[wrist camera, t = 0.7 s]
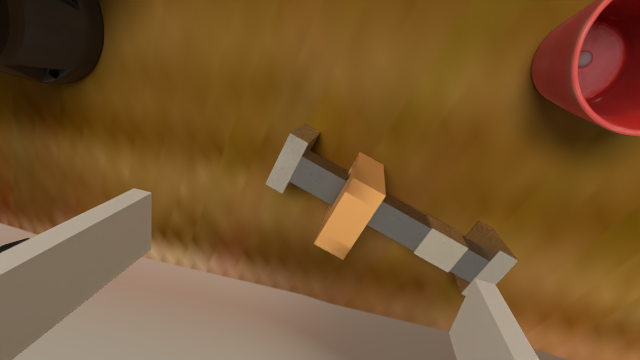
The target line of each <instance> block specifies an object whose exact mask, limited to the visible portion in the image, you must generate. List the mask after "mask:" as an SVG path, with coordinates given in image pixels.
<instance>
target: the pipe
mask: <svg viewBox="0 0 640 360" xmlns="http://www.w3.org/2000/svg"><path fill="white" fill-rule="evenodd" d="M319 134H320V132H319V131H317V130H316V129H314V128H312V127H310V126H308V125H307V124H304V125H302V126H301V127H299V128H298V129H296V130H294V131H293V132H291V133H290V134H289V137H288V139H287V141H286V143H285V145H284V147H283V149H282V151H281V153H280V155H279V157H278V159H277V161H276V163H275V165H274V167H273V170H272V172H271V174H270V176H269V178H268V180H267V182H266V185H268V186H270V187H272V188H273V189H275V190H277V191H279V192H281V193H282V194H283V192H284V191H285V190H286V189H287V187H288V186H289V185H290V184H291V183H293V184H295V185H296V186H298V187H300V188H302V189H303V190H305V191H307V192H309V193H311V194H312V195H314V196H316V197H318V198H320V199H321V200H323V201H325V202H327V203H328V204H330V205H332V206H333V204H334V202H335V201H336V199H337V197H338V195H339V194H340V192H341V190H342V189H343V187H344V185H345V184H346V182H347V180H348V179H349V177H350V173H349V172H347V171H345V170H344V169H342V168H340V167H338V166H336V165H335V164H333V163H331V162H329V161H328V160H326V159H324V158H322V157H320V156H319V155H317V154H315V153H313V152H311V149H312V147H313V145H314V143H315V141H316V139H317V138H318V136H319ZM367 225H368V226H370V227H371V228H373V229H375V230H377V231H379V232H380V233H382V234H384V235H386V236H387V237H389V238H391V239H393V240H395V241H396V242H398V243H400V244H402V245H404V246H405V247H407V248H409V249H411V250H413V253H414V254H416V255H417V256H419V257H421V258H423V259H425V260H426V261H428V262H430V263H432V264H434V265H435V266H437V267H439V268H441V269H442V270H444V271H446V272H449V271H450V272H452V273H453V274H454V276H455V279H456V281H457V284H458V286H459V289H460V292H461V294H463V295H465V296H466V295H467V293H468V291H469V289H470V286H471V284H472V282H473V280H474V279H478V280H482V281H485V282H489V283H493V284H495V285H496V284H497V283H498V282H499V281H500V280H501V279H502V278H503V276H504V275H505V274H506V273H507V272H508V271H509V270H510V269H511V268H512V267H513V266H514V265H515V264H516V263H517V262H518V260H517V258H516V257H515V256H514V254H513V253H512V252H511V251H510V249H509V248H508V247H507V245H506V244H505V243H504V242H503V240H502V239H501V238H500V236H499V235H498V234H497V233H496V231H495V230H494V229H493V228H491V227H489V226H487V225H486V224H484V223H482V222H480V221H478V222H477V224H476V225H475V226H474V227H473V228H472V230H471V231H470V232H469V233H468V234H467V236H466V237H463V236H462V235H461V234H460V232H458V231H456V230H455V229H453V228H451V227H449V226H447V225H446V224H444V223H442V222H440V221H438V220H437V219H435V218H433V217H431V216H429V215H428V214H427V215H424V214H422V213H421V212H419V211H417V210H415V209H413V208H412V207H410V206H408V205H406V204H404V203H403V202H401V201H399V200H397V199H395V198H394V197H392V196H390V195H388V194H387V193H386V196H385V198H384V199H383V201H382V202H381V204H380V205H379V207H378V208H377V210H376V211H375V213H374V214H373V216H372V217H371V219H370V220H369V222H368V223H367Z"/></svg>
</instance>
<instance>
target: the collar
mask: <svg viewBox="0 0 640 360" xmlns="http://www.w3.org/2000/svg"><path fill="white" fill-rule="evenodd" d="M348 172H349V173H350V177H349V179H348V180H347V182H346V184H345V185H344V187H343V189H342V190H341V192H340V194H339V195H338V197H337V199H336V201H335V202H334V204H333V206H332V205H330V204H329V206H328V208H327V211H326V214H325V216H324V219H323V221H322V224H321V227H320V229H319V232H318V234H317V237H316V240H315V242H314V244H315V245H317V246H319V247H321V248H323V249H324V250H326V251H328V252H330V253H332V254H333V255H335V256H337V257H339V258H340V259H342V260H343V259H344V258H345V256H346V255H347V253H348V252H349V250H350V249H351V247H352V246H353V244H354V243H355V241H356V240H357V238H358V237H359V235H360V234H361V232H362V231H363V229H364V228H365V226H366V225H367V223H368V222H369V220H370V219H371V217H372V216H373V214H374V213H375V211H376V210H377V208H378V207H379V205H380V204H381V202H382V201H383V199H384V198H385V196H386V191H385V177H384V165H383V164H381V163H379V162H377V161H376V160H374V159H372V158H370V157H368V156H367V155H365V154H363V153H361V152H359V154H358V156H357V157H356V159H355V161H354V163H353V164H352V166H351V168H350V169H349V171H348Z"/></svg>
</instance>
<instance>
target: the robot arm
mask: <svg viewBox="0 0 640 360" xmlns="http://www.w3.org/2000/svg"><path fill="white" fill-rule="evenodd" d="M102 41H103V24H102V17H101V12H100V8H99V5H98V1H97V0H0V71H1V72H4V73H8V74H11V75H14V76H18V77H21V78H25V79H28V80H31V81H35V82H40V83H70V82H74V81H77V80H79V79H81V78H83V77H84V76H86V75H87V74H88V73H89V72H90V71H91V70H92V68H93V67H94V65H95V64H96V62H97V60H98V58H99V55H100V52H101V48H102ZM151 203H152V193H150V192H146V191H143V190H139V189H135V188H134V189H132V190H130V191H128V192H126V193H124V194H122V195H119V196H117V197H115V198H113V199H111V200H109V201H107V202H105V203H103V204H101V205H99V206H97V207H95V208H93V209H91V210H88V211H86V212H84V213H82V214H80V215H78V216H76V217H74V218H72V219H70V220H68V221H66V222H64V223H62V224H59V225H57V226H55V227H53V228H51V229H49V230H47V231H45V232H43V233H41V234H39V235H37V236H35V237H33V238H27V239H23V240H20V241H16V242H13V243H9V244H5V245H3V246H1V247H0V360H12V359H14V358H15V357H16V356H17V355H18V354H20V353H21V352H22V351H24V350H25V349H26V348H27V347H28V346H30V345H31V344H32V343H34V342H35V341H36V340H37V339H39V338H40V337H41V336H42V335H43V334H45V333H46V332H47V331H49V330H50V329H51V328H52V327H54V326H55V325H56V324H58V323H59V322H60V321H61V320H63V319H64V318H65V317H66V316H67V315H69V314H70V313H71V312H73V311H74V310H75V309H76V308H78V307H79V306H80V305H81V304H83V303H84V302H85V301H86V300H88V299H89V298H90V297H91V296H93V295H94V294H95V293H97V292H98V291H99V290H100V289H101V288H103V287H104V286H105V285H107V284H108V283H109V282H110V281H112V280H113V279H114V278H115V277H116V276H118V275H119V274H120V273H122V272H123V271H124V270H125V269H127V268H128V267H129V266H130V265H132V264H133V263H134V262H136V261H137V260H138V259H139V258H141V257H142V256H143V255H144V254H146V253H147V252H148V251H149V250H151ZM449 335H450V338H451V342H452V345H453V349H454V352H455V355H456V359H457V360H539V359H538V357H537V356H536V354H535V352H534V350H533V349H532V347H531V345H530V343H529V342H528V340H527V338H526V337H525V335H524V333H523V331H522V330H521V328H520V326H519V325H518V323H517V321H516V319H515V318H514V316H513V314H512V313H511V311H510V309H509V307H508V306H507V304H506V302H505V301H504V299H503V297H502V295H501V294H500V292H499V290H498V289H497V287H496V285H495V284H493V283H489V282H485V281H482V280H478V279H474V280H473V282H472V284H471V286H470V289H469V291H468V293H467V295H466V297H465V299H464V301H463V304H462V306H461V308H460V310H459V312H458V314H457V316H456V319H455V321H454V323H453V325H452V327H451V329H450V331H449Z"/></svg>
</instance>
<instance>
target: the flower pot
mask: <svg viewBox="0 0 640 360" xmlns="http://www.w3.org/2000/svg"><path fill="white" fill-rule="evenodd" d="M532 78H533V82H534V85H535V87H536V89H537V90H538V92H539V93H540V94H541V95H542V96H543V97H545V98H546V99H547V100H549V101H551V102H553V103H554V104H556V105H558V106H559V107H561V108H563V109H565V110H567V111H569V112H570V113H572V114H574V115H576V116H578V117H581V118H583V119H585V120H587V121H589V122H591V123H593V124H595V125H598V126H600V127H602V128H604V129H607V130H610V131H612V132H615V133H619V134H623V135H629V136H640V0H596V1H594V2H593V3H591V4H590V5H588V6H587V7H586V8H584V9H583V10H581V11H580V12H578V13H577V14H575V15H574V16H572V17H571V18H570V19H568V20H567V21H565V22H564V23H563V24H561V25H560V26H558V27H557V28H556V29H554V30H553V31H552V32H551V33H550V34H549V35H548V36H547V37H546V38H545V39H544V40H543V41H542V43H541V44H540V46H539V48H538V49H537V51H536V54H535V56H534V59H533V64H532Z"/></svg>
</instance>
